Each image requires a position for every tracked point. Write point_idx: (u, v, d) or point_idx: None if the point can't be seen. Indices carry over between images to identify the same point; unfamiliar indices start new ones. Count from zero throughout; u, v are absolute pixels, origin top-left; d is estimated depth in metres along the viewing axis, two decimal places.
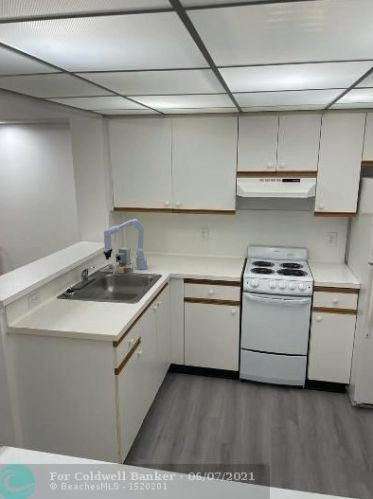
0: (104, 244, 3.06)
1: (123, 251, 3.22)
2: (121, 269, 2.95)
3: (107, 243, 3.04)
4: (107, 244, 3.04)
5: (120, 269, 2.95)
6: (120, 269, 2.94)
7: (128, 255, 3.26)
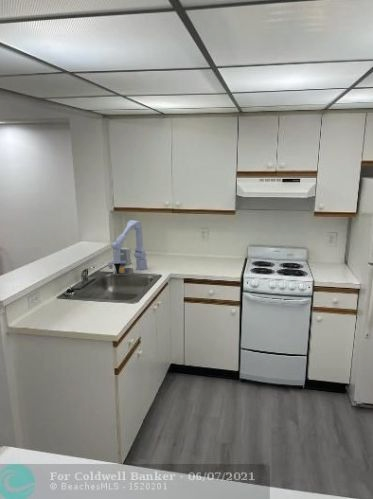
0: None
1: (123, 251, 3.21)
2: (122, 269, 2.95)
3: (118, 256, 2.91)
4: (113, 257, 2.92)
5: (121, 269, 2.95)
6: (120, 268, 2.95)
7: (128, 255, 3.26)
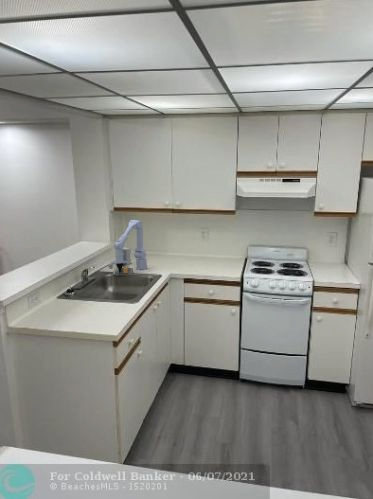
0: None
1: (123, 251, 3.21)
2: (125, 269, 2.95)
3: (121, 256, 2.92)
4: (116, 257, 2.92)
5: (124, 269, 2.95)
6: (124, 268, 2.95)
7: (128, 255, 3.26)
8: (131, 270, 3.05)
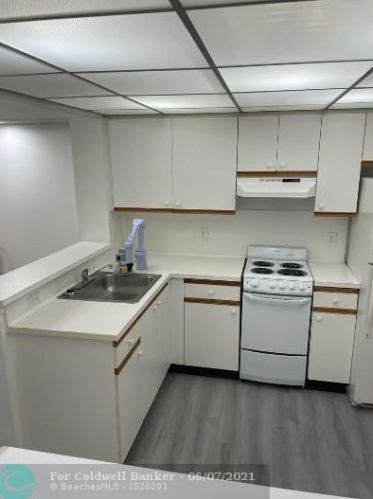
0: None
1: (123, 251, 3.22)
2: (124, 269, 2.95)
3: (132, 256, 2.93)
4: (126, 257, 2.93)
5: (123, 269, 2.95)
6: (123, 268, 2.95)
7: None
8: (131, 270, 3.05)
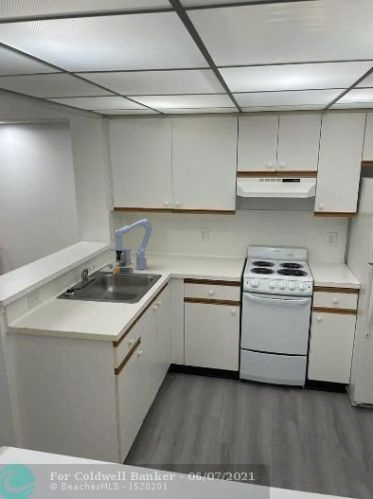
0: None
1: (123, 251, 3.22)
2: (117, 269, 2.94)
3: (119, 243, 3.03)
4: None
5: (116, 269, 2.94)
6: (115, 269, 2.94)
7: (128, 255, 3.26)
8: (131, 270, 3.05)
